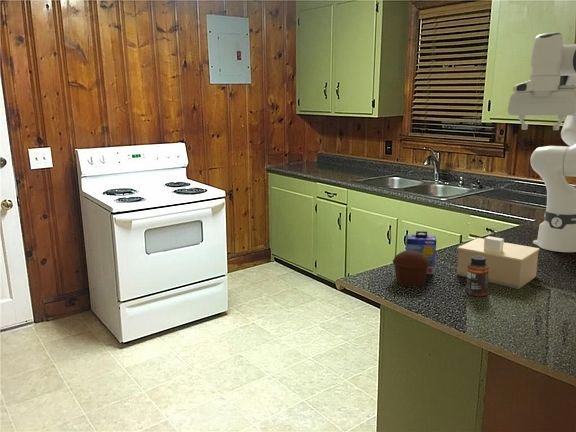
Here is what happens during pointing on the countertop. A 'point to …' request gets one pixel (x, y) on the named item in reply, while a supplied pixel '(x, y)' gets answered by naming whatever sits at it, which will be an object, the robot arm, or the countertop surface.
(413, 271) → the muffin
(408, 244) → the ink cartridge box
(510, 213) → the countertop surface
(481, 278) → the supplement bottle
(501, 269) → the carton
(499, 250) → the carton lid
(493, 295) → the countertop surface
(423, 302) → the countertop surface
